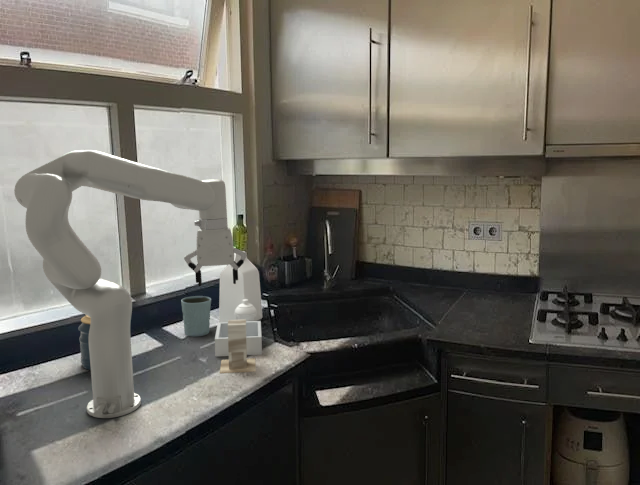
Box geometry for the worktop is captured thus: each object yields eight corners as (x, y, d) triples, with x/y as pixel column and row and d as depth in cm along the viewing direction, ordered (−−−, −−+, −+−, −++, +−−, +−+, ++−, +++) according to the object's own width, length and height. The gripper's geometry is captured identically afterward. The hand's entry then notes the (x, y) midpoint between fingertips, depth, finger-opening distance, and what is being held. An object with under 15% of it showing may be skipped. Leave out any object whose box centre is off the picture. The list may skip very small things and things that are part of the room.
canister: (82, 358, 165) (78, 302, 162) (127, 352, 169) (123, 298, 167) (79, 374, 153) (75, 314, 150) (128, 367, 157) (124, 309, 155)
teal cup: (177, 335, 185) (175, 302, 183) (191, 326, 195) (189, 294, 193) (204, 338, 183) (203, 304, 181) (216, 328, 192) (215, 296, 190)
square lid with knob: (255, 376, 151) (255, 356, 150) (219, 378, 150) (219, 358, 149) (255, 362, 161) (255, 344, 160) (221, 364, 160) (221, 345, 159)
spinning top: (254, 328, 193) (253, 296, 191) (259, 335, 186) (258, 301, 184) (233, 330, 190) (232, 297, 188) (237, 337, 183) (236, 303, 181)
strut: (246, 368, 153) (245, 324, 151) (229, 369, 152) (227, 325, 150) (246, 361, 158) (245, 319, 156) (229, 362, 157) (228, 319, 155)
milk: (245, 326, 195) (243, 256, 190) (219, 322, 199) (216, 254, 195) (262, 317, 205) (261, 251, 201) (237, 314, 210) (235, 248, 206)
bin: (261, 358, 164) (261, 336, 163) (215, 361, 162) (214, 339, 161) (260, 340, 180) (260, 320, 179) (218, 342, 178) (217, 322, 177)
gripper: (180, 227, 144) (185, 289, 147) (245, 224, 147) (248, 285, 150) (183, 223, 151) (187, 282, 154) (244, 220, 154) (247, 278, 157)
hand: (217, 283), depth 152 cm, fingers open, 9 cm apart
